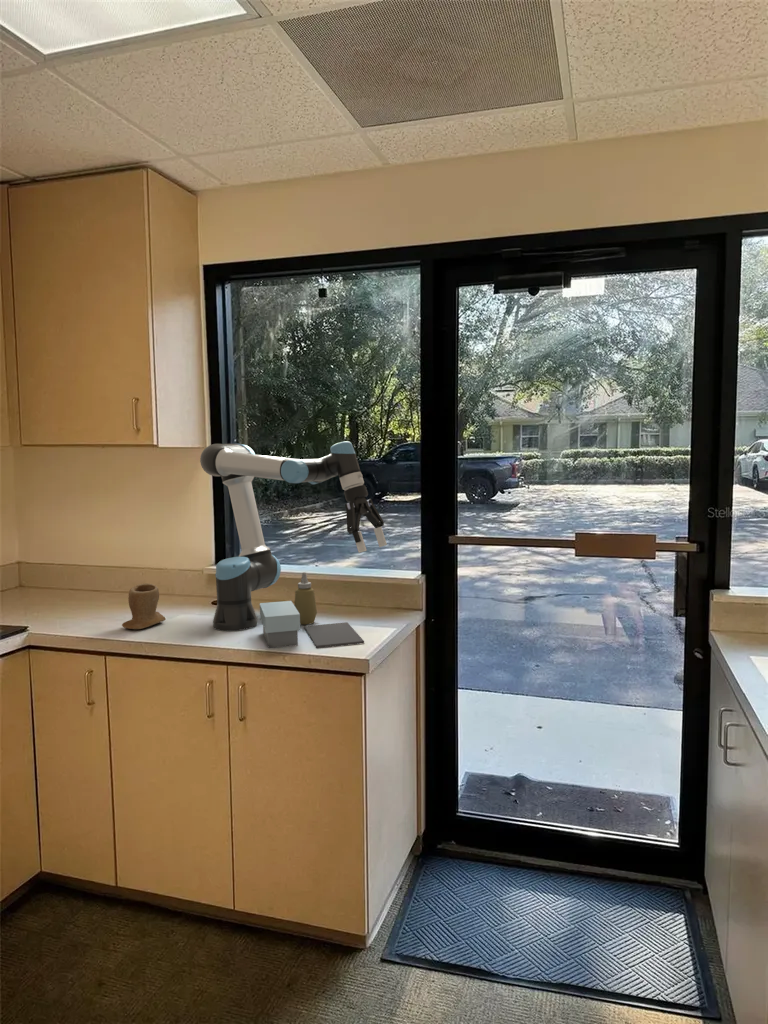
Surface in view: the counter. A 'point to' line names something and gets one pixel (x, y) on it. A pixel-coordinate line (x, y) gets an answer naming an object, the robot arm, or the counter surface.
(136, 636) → the counter surface
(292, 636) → the storage box
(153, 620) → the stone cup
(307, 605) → the squeeze bottle
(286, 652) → the counter surface
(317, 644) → the mat
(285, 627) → the block
